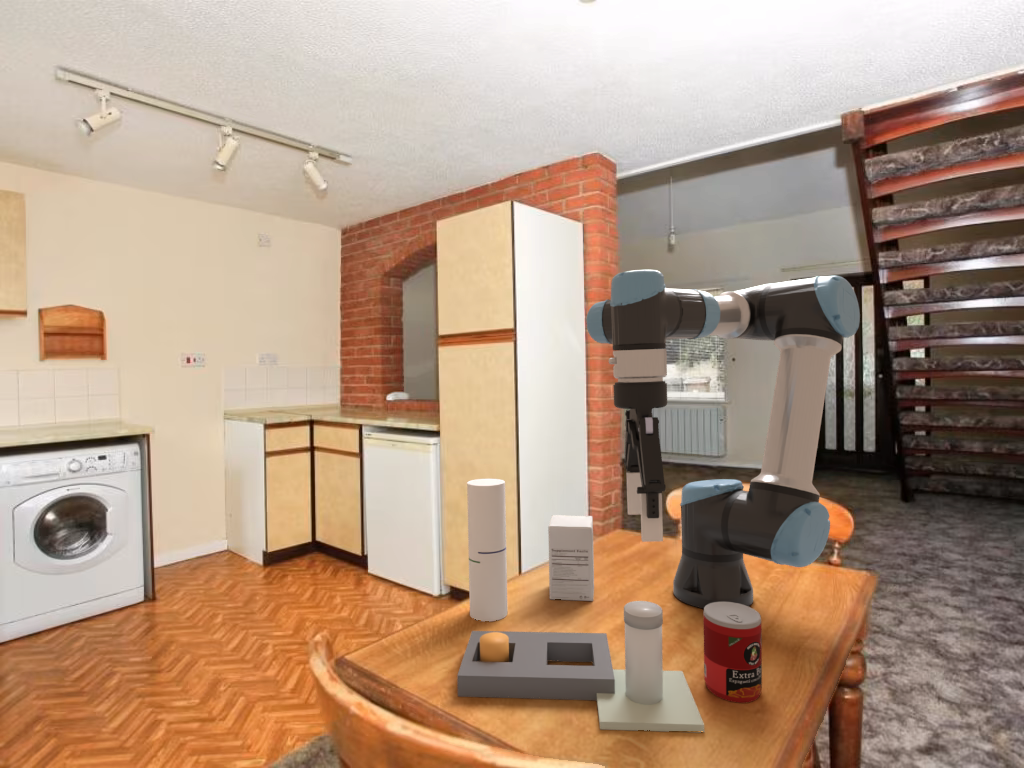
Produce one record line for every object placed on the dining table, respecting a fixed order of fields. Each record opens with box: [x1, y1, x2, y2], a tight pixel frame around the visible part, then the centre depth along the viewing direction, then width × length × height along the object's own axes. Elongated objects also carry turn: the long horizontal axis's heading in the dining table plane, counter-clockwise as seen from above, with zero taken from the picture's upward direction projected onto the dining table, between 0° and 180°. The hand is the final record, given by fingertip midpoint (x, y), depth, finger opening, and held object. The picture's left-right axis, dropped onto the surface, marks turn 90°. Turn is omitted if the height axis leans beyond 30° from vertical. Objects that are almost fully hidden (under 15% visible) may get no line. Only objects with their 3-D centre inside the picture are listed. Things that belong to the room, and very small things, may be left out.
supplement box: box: [547, 514, 595, 602], centre depth 119 cm, size 9×9×15 cm
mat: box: [596, 668, 705, 733], centre depth 80 cm, size 13×13×1 cm
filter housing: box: [456, 630, 615, 701], centre depth 88 cm, size 22×14×3 cm, turn 85°
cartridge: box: [623, 600, 664, 705], centre depth 80 cm, size 5×5×12 cm
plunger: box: [479, 632, 509, 662], centre depth 88 cm, size 4×4×4 cm
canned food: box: [702, 602, 763, 704], centre depth 82 cm, size 8×8×11 cm
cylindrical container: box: [466, 478, 508, 622], centre depth 109 cm, size 7×7×25 cm
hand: (643, 526), depth 84 cm, fingers open, 13 cm apart
